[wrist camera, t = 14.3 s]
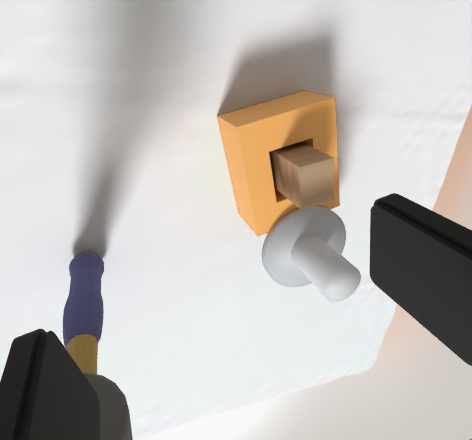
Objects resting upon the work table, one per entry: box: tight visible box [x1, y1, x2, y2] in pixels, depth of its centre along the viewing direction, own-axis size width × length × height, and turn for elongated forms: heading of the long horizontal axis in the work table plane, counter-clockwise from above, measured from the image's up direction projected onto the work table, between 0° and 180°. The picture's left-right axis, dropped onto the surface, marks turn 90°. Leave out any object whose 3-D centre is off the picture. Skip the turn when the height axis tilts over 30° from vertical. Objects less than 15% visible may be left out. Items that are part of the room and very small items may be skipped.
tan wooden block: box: [269, 142, 334, 210], centre depth 40 cm, size 5×4×12 cm
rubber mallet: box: [63, 252, 132, 440], centre depth 31 cm, size 12×8×30 cm, turn 172°
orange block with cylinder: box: [217, 91, 361, 302], centre depth 41 cm, size 24×12×16 cm, turn 12°
